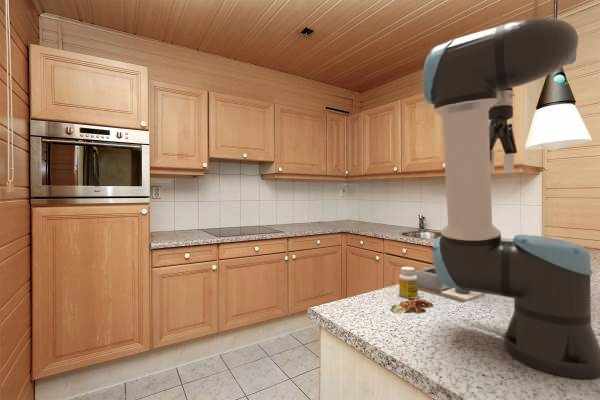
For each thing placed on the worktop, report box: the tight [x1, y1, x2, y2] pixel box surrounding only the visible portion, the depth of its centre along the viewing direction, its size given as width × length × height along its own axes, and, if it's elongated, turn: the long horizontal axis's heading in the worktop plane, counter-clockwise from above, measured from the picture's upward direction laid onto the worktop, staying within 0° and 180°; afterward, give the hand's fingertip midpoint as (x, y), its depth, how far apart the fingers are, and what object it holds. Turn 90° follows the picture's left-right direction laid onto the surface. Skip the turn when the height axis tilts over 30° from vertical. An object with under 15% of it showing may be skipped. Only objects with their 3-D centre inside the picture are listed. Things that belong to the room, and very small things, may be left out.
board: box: [418, 287, 487, 303], centre depth 100 cm, size 16×19×1 cm
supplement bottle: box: [398, 266, 419, 300], centre depth 94 cm, size 5×5×10 cm
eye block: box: [414, 266, 453, 293], centre depth 103 cm, size 10×10×5 cm
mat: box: [441, 288, 485, 302], centre depth 94 cm, size 10×8×1 cm
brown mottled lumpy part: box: [389, 296, 434, 315], centre depth 86 cm, size 7×12×4 cm, turn 113°
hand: (499, 172), depth 99 cm, fingers open, 13 cm apart
